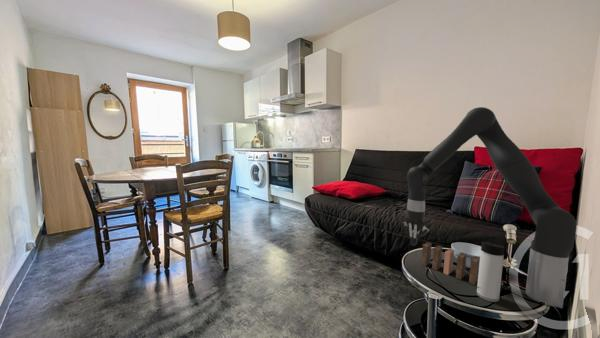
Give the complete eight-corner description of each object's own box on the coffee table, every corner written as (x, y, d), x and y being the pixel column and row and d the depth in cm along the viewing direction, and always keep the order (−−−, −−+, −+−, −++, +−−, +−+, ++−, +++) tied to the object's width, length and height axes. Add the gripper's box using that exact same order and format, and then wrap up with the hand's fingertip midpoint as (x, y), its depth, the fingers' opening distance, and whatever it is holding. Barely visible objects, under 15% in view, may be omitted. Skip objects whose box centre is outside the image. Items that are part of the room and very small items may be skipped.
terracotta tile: (452, 271, 101) (454, 250, 100) (448, 275, 98) (449, 253, 97) (447, 269, 102) (449, 248, 102) (443, 273, 99) (445, 251, 98)
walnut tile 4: (477, 280, 94) (479, 257, 93) (474, 284, 91) (476, 261, 90) (472, 278, 96) (474, 256, 95) (468, 282, 92) (470, 259, 91)
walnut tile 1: (430, 263, 108) (431, 243, 107) (425, 266, 105) (427, 245, 104) (425, 261, 109) (427, 241, 108) (421, 264, 106) (422, 244, 105)
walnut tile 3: (464, 275, 98) (466, 253, 97) (460, 279, 94) (462, 257, 94) (459, 273, 99) (461, 252, 98) (455, 277, 96) (457, 255, 95)
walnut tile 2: (440, 267, 104) (442, 246, 104) (436, 270, 101) (438, 249, 100) (436, 265, 106) (438, 245, 105) (432, 268, 103) (433, 248, 102)
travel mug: (473, 295, 84) (478, 241, 82) (480, 289, 88) (485, 238, 86) (495, 305, 79) (501, 248, 77) (501, 298, 83) (507, 243, 81)
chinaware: (498, 275, 98) (500, 258, 98) (459, 272, 100) (461, 254, 100) (477, 259, 113) (479, 243, 112) (444, 256, 115) (445, 241, 115)
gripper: (398, 207, 112) (396, 242, 113) (427, 213, 102) (424, 251, 103) (405, 205, 117) (403, 238, 118) (434, 210, 107) (431, 247, 108)
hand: (413, 244), depth 111 cm, fingers closed
